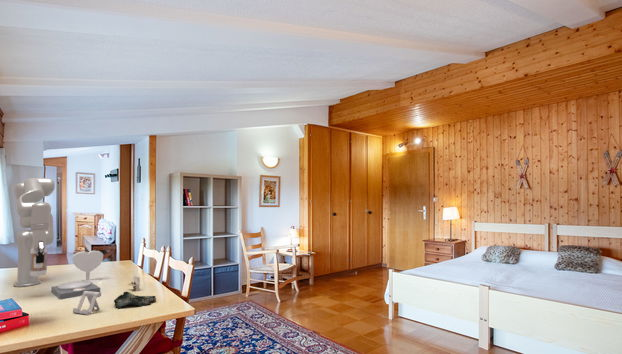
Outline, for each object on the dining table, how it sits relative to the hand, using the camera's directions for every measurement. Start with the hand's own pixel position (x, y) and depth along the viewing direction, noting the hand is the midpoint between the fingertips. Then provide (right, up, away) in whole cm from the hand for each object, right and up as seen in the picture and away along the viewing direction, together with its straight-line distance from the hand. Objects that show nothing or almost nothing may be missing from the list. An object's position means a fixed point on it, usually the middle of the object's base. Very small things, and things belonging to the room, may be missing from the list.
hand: (38, 261), depth 189 cm
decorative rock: (+57, -17, -15) cm, 61 cm away
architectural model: (+45, -19, +10) cm, 49 cm away
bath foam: (0, -7, 0) cm, 7 cm away
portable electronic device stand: (+42, -16, -27) cm, 52 cm away
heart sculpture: (+6, -20, +32) cm, 38 cm away
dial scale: (+14, -18, +8) cm, 24 cm away
